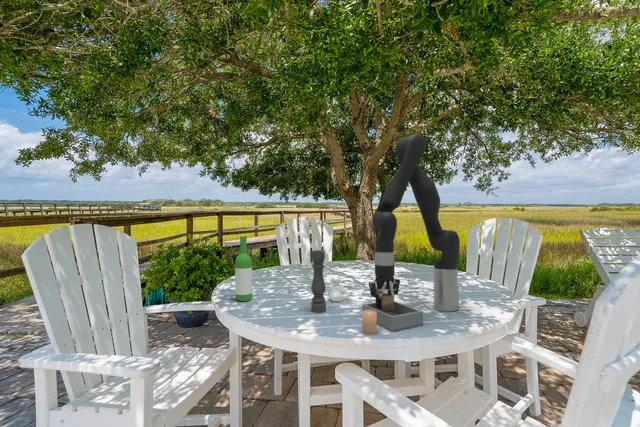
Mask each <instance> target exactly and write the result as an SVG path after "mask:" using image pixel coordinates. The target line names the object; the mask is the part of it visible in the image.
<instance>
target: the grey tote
mask: <svg viewBox="0 0 640 427" xmlns="http://www.w3.org/2000/svg"><path fill="white" fill-rule="evenodd" d="M361 308H362V311H363V310H375V311H377V326H380V327H382V328H383V329H386V330H388V331H391V332H393V333H394V332H398V331H405V330H407V329H412V328H417V327H419V326H421V327H422V326H423V325H424V311H423V310H420V309H417V308H415V307H412V306H409V305H406V304H403V303H401V302H398V301H395V300H394V309H391V310H385V311H383V310H381V309H378V308H376V301H375V302H374V301H373V302H370V303H364V304H362V307H361ZM362 311H361V312H362Z"/></svg>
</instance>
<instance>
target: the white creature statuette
mask: <svg viewBox="0 0 640 427" xmlns="http://www.w3.org/2000/svg"><path fill="white" fill-rule="evenodd" d="M341 280H342V279H341V277H340V276H339V275H338V274H333V275H331V277H328V281H329V282H330V283H331V284H332V286H331V290H330V291H331V292H330V293H329V294H328V299H329V300H330V301H331V302H333V303H340V302H344V301H346V300H348V299H349V295H348V294H346V293H344V294H343V293H342V291H343V290H342V289H343V288H342V286H341V284H340V283H341Z"/></svg>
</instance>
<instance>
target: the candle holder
mask: <svg viewBox="0 0 640 427" xmlns="http://www.w3.org/2000/svg"><path fill="white" fill-rule="evenodd" d="M325 253H326V251H325V250H322V249H320V250H318V249H314V250H311V257H310V258H311V262H312V263H313V264H311V267H312V268H313V277H312V282H311V287H310V290H311V293H312V294H313V297H312V298H311V304H310V305H311V309H310V310H311V312H312V313H314V314H316V313H317V314H321V313H326V311H327V303H326V298H325V297H324V295H325V292H326V284H325V280H324V273H323V272H324V270H323V269H324V268H325V264H324V263H325V262H324V261H325V259H326V254H325Z"/></svg>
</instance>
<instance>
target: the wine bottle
mask: <svg viewBox="0 0 640 427" xmlns="http://www.w3.org/2000/svg"><path fill="white" fill-rule="evenodd" d="M247 243H248V242H247V236H246V235H245V236H244V235H241V236H240V237H239V254H238V255H237V256H236V258H235V261H234V291H235V292H234V293H235V294H234V295H235V296H234V297H235V301H237V300H239V301H246V302H249V301H248V300H250V301H251V300H252V299H253V259H252V257H251V255H249V253H247V252H248V246H247ZM239 301H238V302H239Z"/></svg>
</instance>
